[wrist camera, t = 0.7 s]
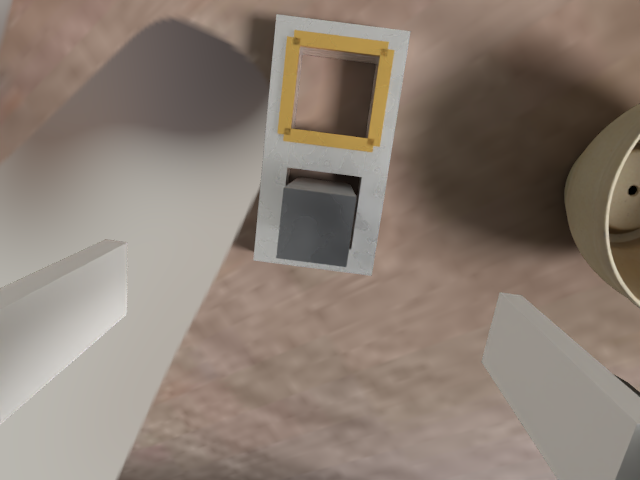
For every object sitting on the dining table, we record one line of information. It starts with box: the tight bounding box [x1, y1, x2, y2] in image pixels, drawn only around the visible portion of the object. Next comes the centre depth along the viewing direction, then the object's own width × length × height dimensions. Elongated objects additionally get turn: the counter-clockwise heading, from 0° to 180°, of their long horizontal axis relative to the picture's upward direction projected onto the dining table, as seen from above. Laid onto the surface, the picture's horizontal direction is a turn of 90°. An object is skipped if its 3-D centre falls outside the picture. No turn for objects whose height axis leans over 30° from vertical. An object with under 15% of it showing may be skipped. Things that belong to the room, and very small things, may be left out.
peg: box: [276, 177, 357, 267], centre depth 30 cm, size 4×4×11 cm
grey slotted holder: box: [254, 14, 411, 276], centre depth 33 cm, size 19×10×3 cm, turn 173°
